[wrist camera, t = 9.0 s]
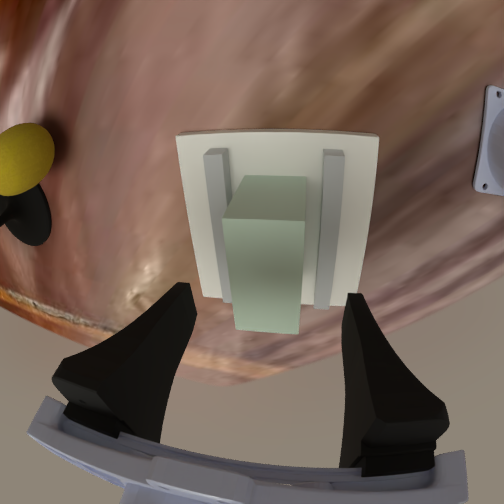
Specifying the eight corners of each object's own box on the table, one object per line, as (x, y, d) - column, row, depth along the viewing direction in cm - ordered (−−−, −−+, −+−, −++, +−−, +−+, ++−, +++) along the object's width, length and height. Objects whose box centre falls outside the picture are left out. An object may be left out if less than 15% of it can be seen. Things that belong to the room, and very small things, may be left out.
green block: (302, 275, 24) (298, 334, 19) (251, 272, 24) (235, 329, 19) (306, 176, 19) (304, 221, 14) (244, 175, 20) (221, 218, 15)
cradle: (375, 133, 18) (384, 143, 15) (353, 298, 25) (355, 319, 23) (181, 132, 20) (166, 142, 18) (206, 289, 28) (198, 308, 26)
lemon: (72, 175, 23) (10, 220, 16) (33, 165, 23) (-26, 204, 16) (72, 115, 20) (0, 147, 13) (31, 110, 20) (-36, 140, 13)
